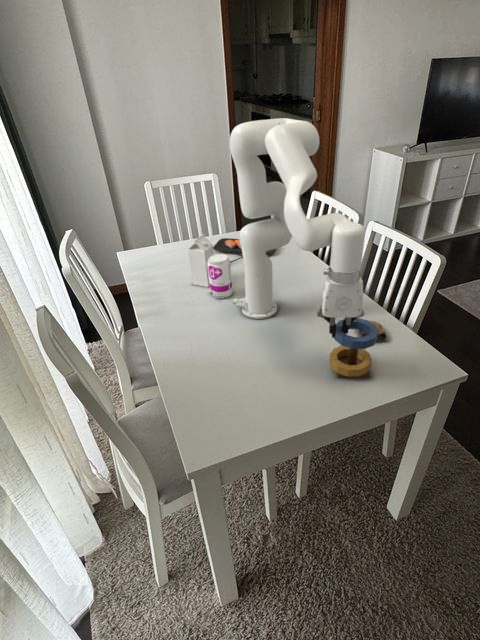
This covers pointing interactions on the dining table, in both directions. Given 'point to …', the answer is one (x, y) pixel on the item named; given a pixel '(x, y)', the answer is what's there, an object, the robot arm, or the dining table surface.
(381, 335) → the bun on tray
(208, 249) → the milk carton
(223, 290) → the supplement can
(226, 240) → the sushi plate
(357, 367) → the brass ring
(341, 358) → the stand
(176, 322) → the dining table surface
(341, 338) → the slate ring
